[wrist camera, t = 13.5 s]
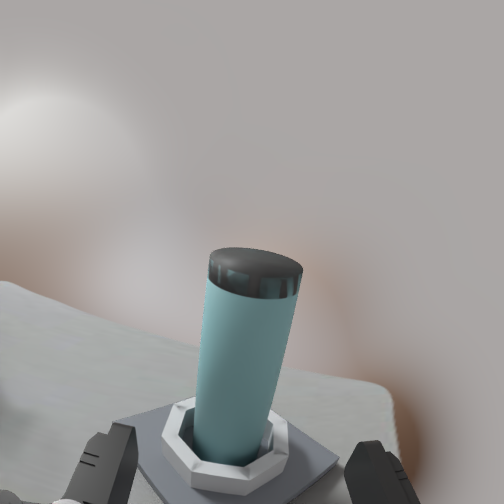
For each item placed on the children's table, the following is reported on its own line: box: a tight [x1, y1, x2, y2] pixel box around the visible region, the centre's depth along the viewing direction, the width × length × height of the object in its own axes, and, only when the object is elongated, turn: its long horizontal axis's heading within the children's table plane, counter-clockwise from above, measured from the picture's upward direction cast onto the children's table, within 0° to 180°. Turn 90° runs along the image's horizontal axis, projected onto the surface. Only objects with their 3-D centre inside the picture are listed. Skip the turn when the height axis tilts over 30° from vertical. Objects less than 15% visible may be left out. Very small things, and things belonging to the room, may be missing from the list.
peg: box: [192, 248, 303, 467], centre depth 18 cm, size 5×5×14 cm
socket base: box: [112, 396, 340, 504], centre depth 19 cm, size 12×12×3 cm
